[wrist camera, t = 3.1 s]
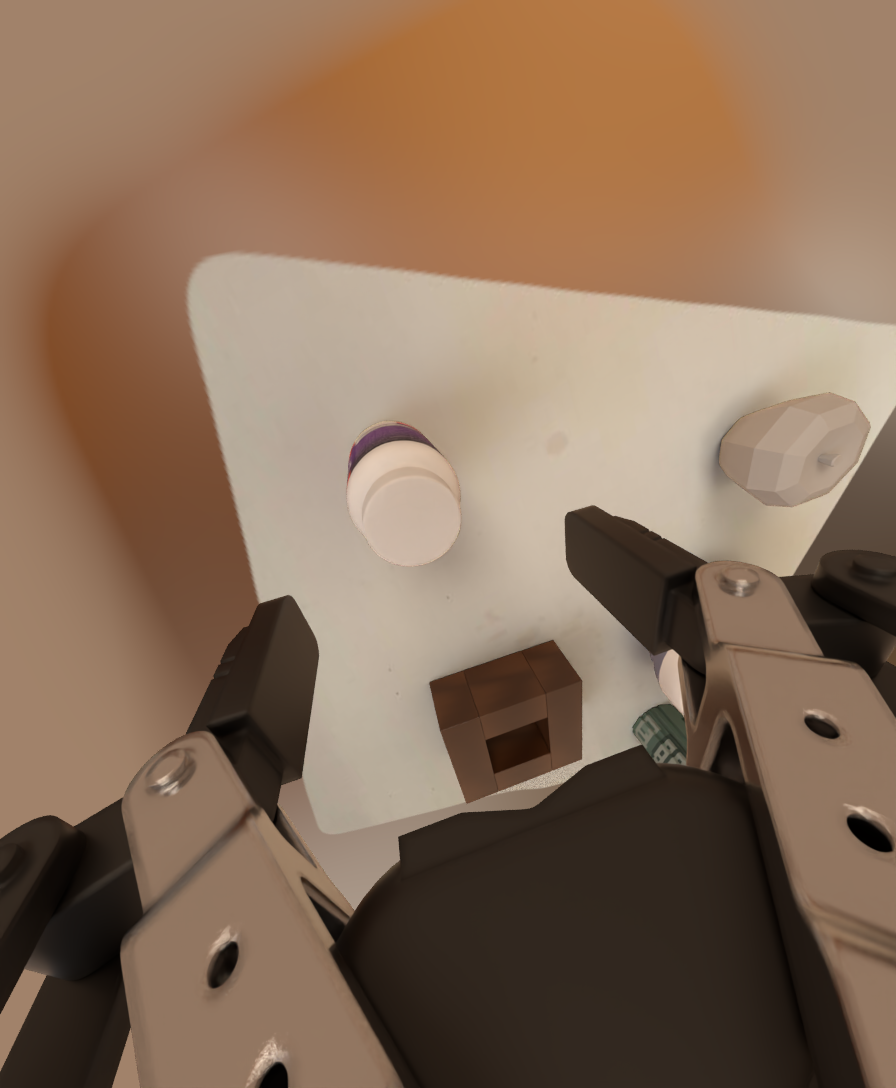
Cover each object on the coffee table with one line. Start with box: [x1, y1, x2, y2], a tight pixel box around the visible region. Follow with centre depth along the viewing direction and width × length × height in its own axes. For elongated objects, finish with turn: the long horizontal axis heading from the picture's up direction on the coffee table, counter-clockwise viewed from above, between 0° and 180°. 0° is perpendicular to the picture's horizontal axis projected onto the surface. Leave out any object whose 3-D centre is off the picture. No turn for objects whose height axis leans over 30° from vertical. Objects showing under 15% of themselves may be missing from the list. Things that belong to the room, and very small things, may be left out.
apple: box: [719, 392, 871, 507], centre depth 25 cm, size 8×8×7 cm
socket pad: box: [429, 640, 582, 803], centre depth 34 cm, size 13×13×5 cm
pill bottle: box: [346, 421, 461, 566], centre depth 18 cm, size 5×5×10 cm
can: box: [633, 704, 687, 765], centre depth 39 cm, size 6×6×15 cm
